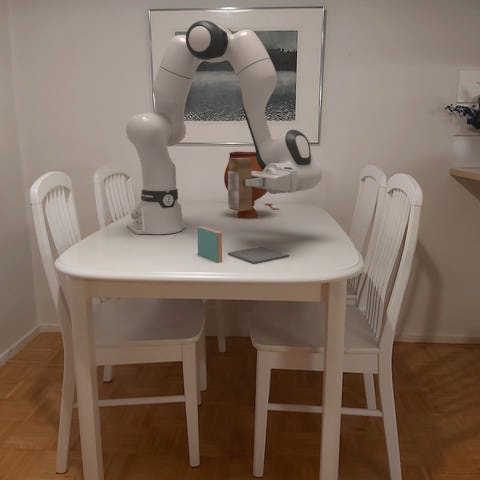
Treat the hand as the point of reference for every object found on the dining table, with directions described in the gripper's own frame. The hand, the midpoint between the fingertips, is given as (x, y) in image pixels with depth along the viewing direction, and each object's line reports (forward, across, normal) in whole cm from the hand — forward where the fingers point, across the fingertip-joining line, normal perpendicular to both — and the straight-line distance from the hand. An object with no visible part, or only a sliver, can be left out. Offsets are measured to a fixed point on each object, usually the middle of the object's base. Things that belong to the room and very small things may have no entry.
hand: (237, 181), depth 135 cm
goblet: (-37, -43, +20) cm, 60 cm away
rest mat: (-2, +6, +20) cm, 21 cm away
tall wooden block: (-1, 0, +8) cm, 8 cm away
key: (-59, -54, +21) cm, 83 cm away
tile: (+10, 0, +20) cm, 22 cm away
